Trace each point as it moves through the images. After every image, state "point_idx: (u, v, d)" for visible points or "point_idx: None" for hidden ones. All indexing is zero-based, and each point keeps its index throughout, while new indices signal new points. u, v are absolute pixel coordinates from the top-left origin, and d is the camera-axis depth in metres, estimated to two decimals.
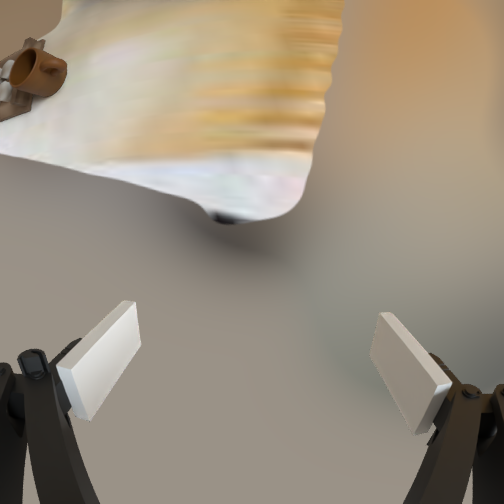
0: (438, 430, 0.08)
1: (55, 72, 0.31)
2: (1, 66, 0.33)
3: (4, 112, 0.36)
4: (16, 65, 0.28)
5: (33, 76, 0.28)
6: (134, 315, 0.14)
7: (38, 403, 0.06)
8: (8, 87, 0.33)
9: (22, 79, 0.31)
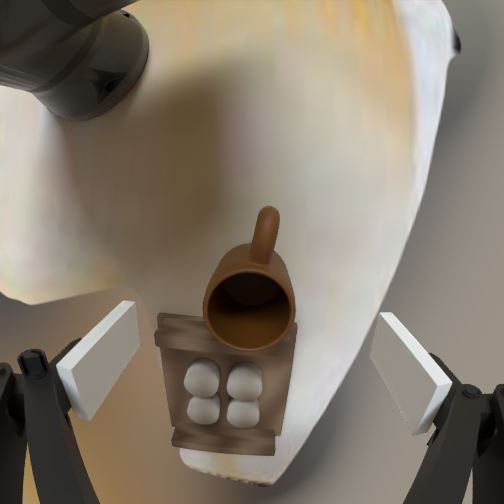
0: (438, 430, 0.08)
1: None
2: (181, 404, 0.35)
3: (278, 382, 0.34)
4: (230, 339, 0.24)
5: (282, 278, 0.23)
6: (134, 315, 0.14)
7: (38, 403, 0.06)
8: (243, 373, 0.31)
9: (254, 329, 0.27)
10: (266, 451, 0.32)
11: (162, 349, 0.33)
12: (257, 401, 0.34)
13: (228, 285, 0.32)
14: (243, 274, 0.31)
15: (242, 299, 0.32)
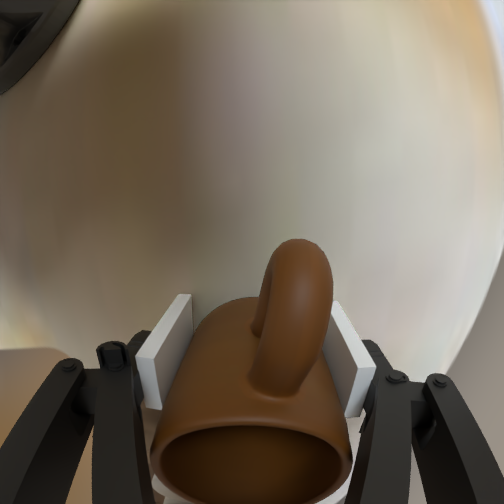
0: (368, 417, 0.09)
1: None
2: None
3: None
4: (215, 493, 0.09)
5: (331, 417, 0.08)
6: (190, 307, 0.16)
7: (112, 396, 0.07)
8: None
9: (261, 457, 0.12)
10: None
11: None
12: None
13: None
14: None
15: None
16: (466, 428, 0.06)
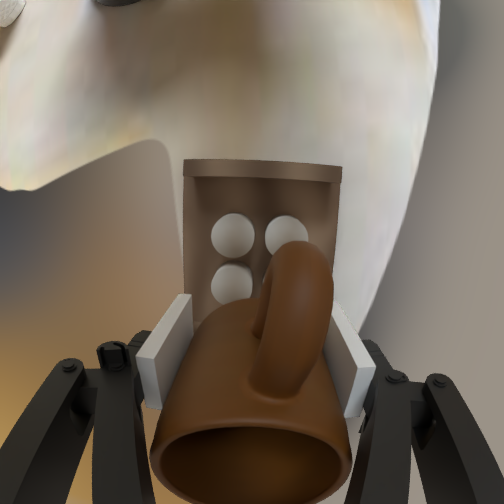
0: (367, 417, 0.09)
1: None
2: (201, 290, 0.32)
3: (322, 246, 0.30)
4: (215, 493, 0.09)
5: (331, 418, 0.08)
6: (191, 307, 0.16)
7: (112, 396, 0.07)
8: None
9: (261, 458, 0.12)
10: None
11: (185, 206, 0.29)
12: None
13: None
14: None
15: None
16: (466, 428, 0.06)
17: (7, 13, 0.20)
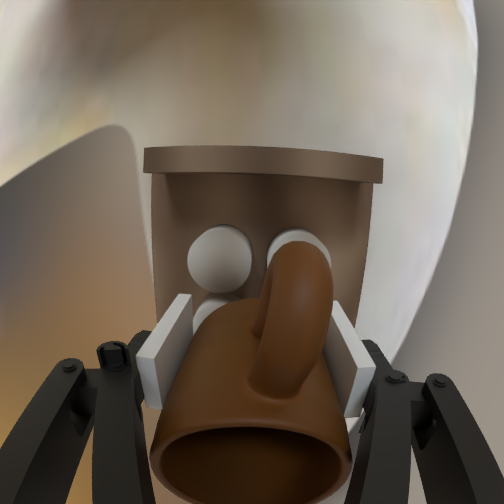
0: (368, 417, 0.09)
1: None
2: None
3: (346, 272, 0.21)
4: (215, 494, 0.09)
5: (331, 418, 0.08)
6: (191, 307, 0.16)
7: (112, 396, 0.07)
8: (297, 234, 0.18)
9: (261, 458, 0.12)
10: None
11: (154, 215, 0.20)
12: None
13: None
14: None
15: None
16: (466, 428, 0.06)
17: None
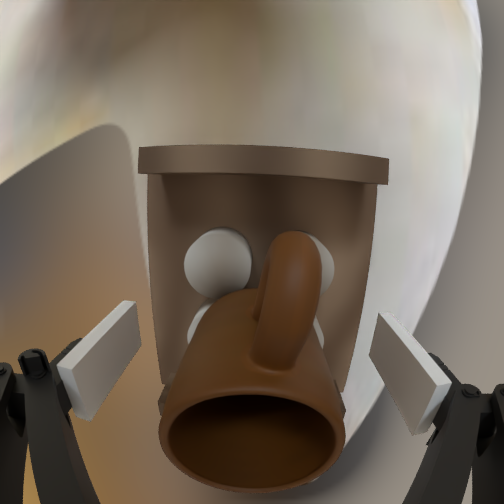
0: (438, 430, 0.08)
1: None
2: (177, 335, 0.22)
3: (349, 276, 0.20)
4: (218, 471, 0.11)
5: (324, 391, 0.09)
6: (135, 315, 0.14)
7: (38, 403, 0.06)
8: None
9: (262, 439, 0.13)
10: None
11: (150, 218, 0.20)
12: (315, 316, 0.20)
13: None
14: None
15: None
16: None
17: None
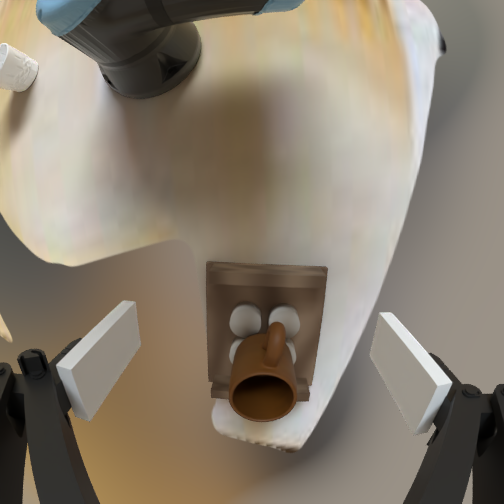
0: (438, 430, 0.08)
1: None
2: (220, 354, 0.41)
3: (311, 324, 0.39)
4: (248, 413, 0.30)
5: (288, 375, 0.28)
6: (135, 315, 0.14)
7: (38, 403, 0.06)
8: (283, 310, 0.36)
9: (266, 401, 0.32)
10: (301, 396, 0.37)
11: (208, 295, 0.39)
12: (293, 344, 0.39)
13: None
14: None
15: None
16: None
17: (21, 81, 0.31)
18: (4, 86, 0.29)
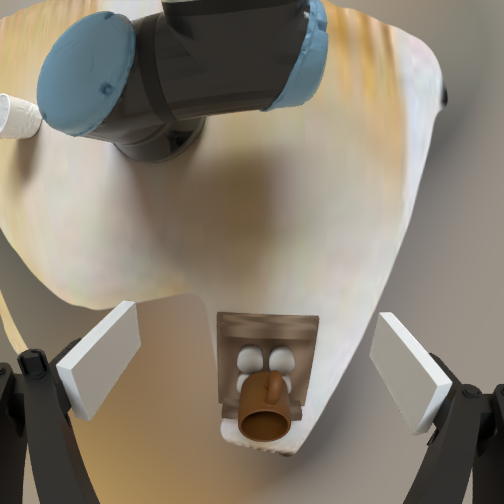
0: (438, 430, 0.08)
1: None
2: (229, 382, 0.48)
3: (304, 361, 0.46)
4: (253, 435, 0.37)
5: (283, 410, 0.35)
6: (135, 315, 0.14)
7: (38, 403, 0.06)
8: (281, 353, 0.43)
9: (266, 424, 0.39)
10: (295, 416, 0.45)
11: (218, 339, 0.46)
12: (289, 376, 0.46)
13: None
14: None
15: None
16: None
17: (27, 131, 0.36)
18: (10, 137, 0.34)
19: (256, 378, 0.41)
